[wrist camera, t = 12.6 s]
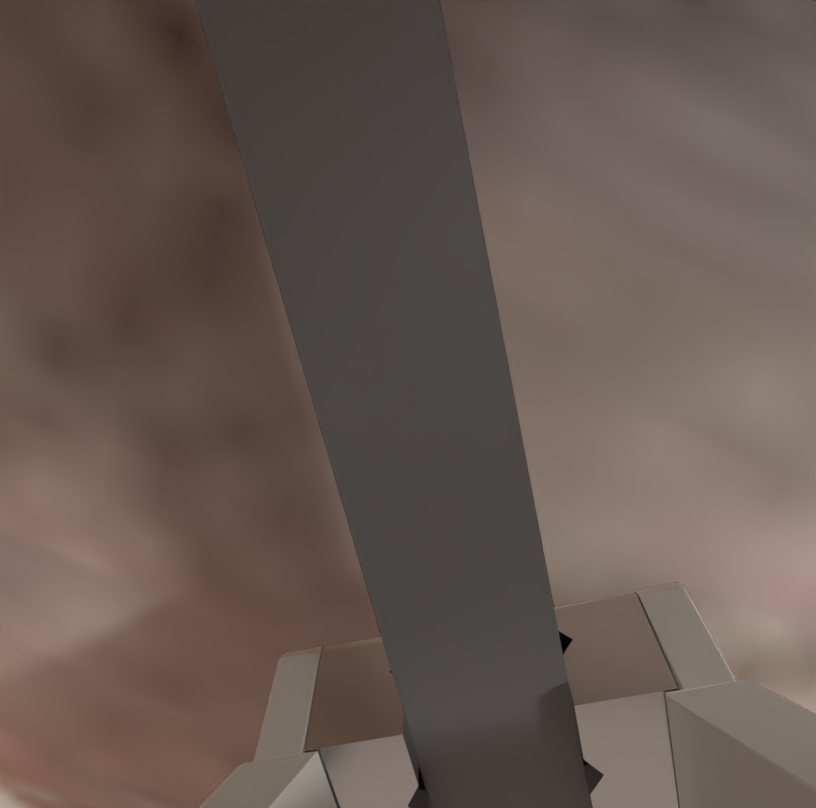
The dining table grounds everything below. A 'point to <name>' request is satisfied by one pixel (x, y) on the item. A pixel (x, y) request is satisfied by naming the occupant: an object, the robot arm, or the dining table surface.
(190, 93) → the dining table surface
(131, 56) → the dining table surface
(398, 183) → the hoe scraper
